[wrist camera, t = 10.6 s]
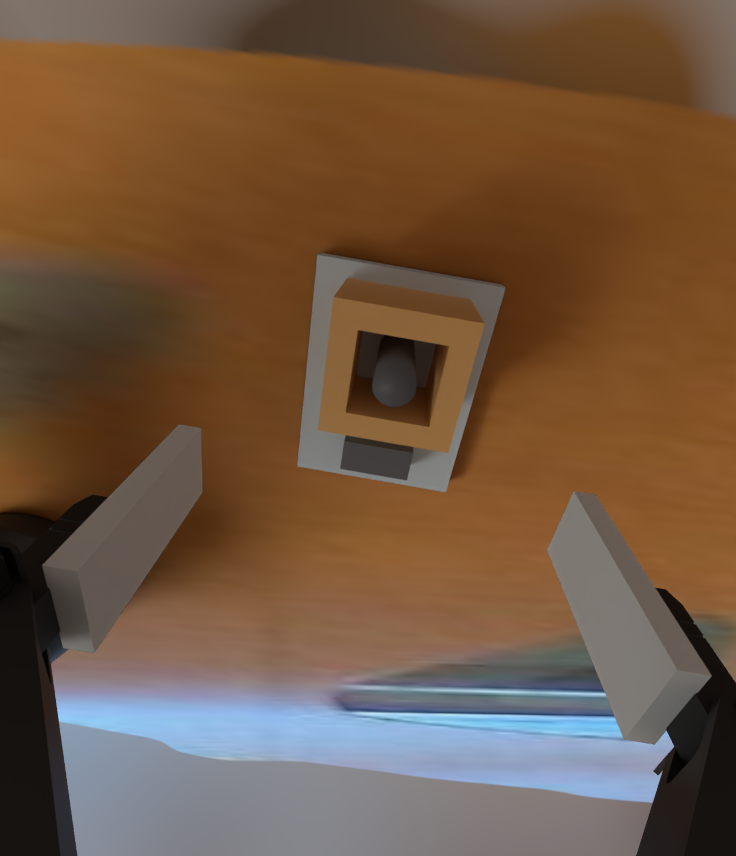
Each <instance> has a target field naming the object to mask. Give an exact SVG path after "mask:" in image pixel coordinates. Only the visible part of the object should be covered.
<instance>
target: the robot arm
mask: <svg viewBox="0 0 736 856" xmlns="http://www.w3.org/2000/svg"><path fill="white" fill-rule="evenodd" d="M202 492H203V490H202V447H201V428H198V427H192V426H186V425H180V424H179V425H178V426H177V427H176V428H175V429H174V430H173V431H172V432H171V433H170V434H169V435H168V436H167V437H166V438H165V439H164V440H163V441H162V442H161V443H160V444H159V445H158V447H157V448H156V449H155V450H154V451H153V452H152V453H151V454H150V455H149V456H148V457H147V458H146V459H145V460H144V461H143V462H142V463H141V464H140V465H139V466H138V467H137V468H136V469H135V470H134V471H133V472H132V473H131V474H130V475H129V476H128V477H127V478H126V479H125V480H124V481H123V483H122V484H121V485H120V486H119V487H118V488H117V489H116V490H115V491H114V492H113V493H112V494H111V495H110V496H109V497H103V496H97V495H91V496H89V497H87V498H85V499H83V500H81V501H80V502H78V503H76V504H74V505H73V506H72V507H70V508H69V509H68V510H67V511H66V512H65V513H64V514H63V515H62V516H61V517H60V520H57V521H56V522H55V523H54V522H51V521H48V520H46V519H43V518H39V517H35V516H31V515H25V514H16V513H6V514H0V856H77V850H76V843H75V837H74V828H73V821H72V815H71V807H70V800H69V792H68V785H67V778H66V771H65V763H64V756H63V749H62V742H61V734H60V728H59V720H58V713H57V705H56V698H55V691H54V684H53V676H52V669H51V663H52V662H53V661H54V660H56V659H57V658H58V657H60V656H61V655H62V654H63V653H65V652H66V651H67V650H68V649H72V650H78V651H84V652H90V653H95V652H96V650H97V649H98V647H99V646H100V644H101V643H102V641H103V640H104V638H105V637H106V635H107V634H108V632H109V631H110V629H111V628H112V626H113V625H114V623H115V622H116V620H117V619H118V617H119V616H120V615H121V613H122V612H123V610H124V609H125V607H126V606H127V604H128V603H129V601H130V600H131V598H132V597H133V595H134V594H135V592H136V591H137V589H138V588H139V586H140V585H141V583H142V582H143V580H144V579H145V577H146V576H147V574H148V573H149V571H150V570H151V568H152V567H153V565H154V564H155V562H156V561H157V559H158V558H159V556H160V555H161V553H162V552H163V550H164V549H165V547H166V546H167V545H168V543H169V542H170V540H171V539H172V537H173V536H174V534H175V533H176V531H177V530H178V528H179V527H180V525H181V524H182V522H183V521H184V519H185V518H186V516H187V515H188V513H189V512H190V510H191V509H192V507H193V506H194V504H195V503H196V501H197V500H198V498H199V497H200V495H201V494H202ZM547 551H548V554H549V556H550V559H551V561H552V564H553V566H554V568H555V571H556V573H557V576H558V578H559V581H560V583H561V586H562V588H563V591H564V593H565V595H566V598H567V600H568V603H569V605H570V608H571V610H572V613H573V615H574V618H575V620H576V622H577V625H578V627H579V630H580V632H581V635H582V637H583V640H584V642H585V645H586V647H587V650H588V652H589V654H590V657H591V659H592V662H593V664H594V667H595V669H596V672H597V674H598V677H599V679H600V681H601V684H602V686H603V689H604V691H605V694H606V696H607V699H608V701H609V704H610V706H611V709H612V711H613V713H614V716H615V718H616V721H617V723H618V726H619V728H620V731H621V733H622V736H623V738H624V740H630V741H636V742H642V743H648V744H654V745H655V743H656V742H657V741H658V740H659V739H660V737H661V736H662V735H663V734H664V733H665V731H666V730H667V732H668V734H669V736H670V738H671V740H672V743H673V745H674V748H673V749H672V750H671V751H670V752H669V753H668V755H667V756H666V757H665V758H664V759H663V760H662V761H661V763H660V764H659V765H658V766H657V767H656V769H655V770H654V772H655V773H656V774H657V775H659V774H660V773H661V772H662V771H663V772H662V775H661V778H660V781H659V785H658V788H657V791H656V794H655V797H654V801H653V804H652V807H651V810H650V813H649V817H648V820H647V823H646V827H645V829H644V833H643V836H642V839H641V842H640V846H639V849H638V852H637V855H636V856H736V683H735V681H734V680H733V678H732V677H731V675H730V674H729V672H728V671H727V670H726V668H725V667H724V665H723V664H722V662H721V661H720V659H719V658H718V656H717V655H716V653H715V652H714V650H713V649H712V648H711V646H710V645H709V643H708V642H707V640H706V639H705V638H703V634H702V633H701V631H700V630H699V628H698V627H697V626H696V625H694V623H693V622H694V621H693V620H692V618H691V617H690V615H689V614H688V612H687V611H686V609H685V608H684V607H683V605H682V604H681V603H680V602H679V601H678V600H677V599H675V598H674V597H673V596H672V595H671V594H670V593H669V592H668V591H667V590H666V589H660V588H655V587H654V585H653V584H652V582H651V580H650V579H649V577H648V576H647V574H646V573H645V571H644V570H643V568H642V566H641V565H640V563H639V562H638V560H637V559H636V557H635V556H634V554H633V552H632V551H631V549H630V548H629V546H628V545H627V543H626V542H625V540H624V538H623V537H622V535H621V534H620V532H619V531H618V529H617V528H616V526H615V524H614V523H613V521H612V520H611V518H610V517H609V515H608V514H607V512H606V510H605V509H604V507H603V506H602V504H601V503H600V501H599V500H598V498H597V496H596V495H594V494H588V493H582V492H576V491H574V492H573V494H572V496H571V499H570V501H569V503H568V505H567V507H566V510H565V512H564V514H563V516H562V518H561V521H560V523H559V525H558V527H557V529H556V531H555V534H554V536H553V538H552V540H551V542H550V545H549V547H548V549H547Z"/></svg>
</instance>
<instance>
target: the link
mask: <svg viewBox="0 0 736 856" xmlns="http://www.w3.org/2000/svg"><path fill="white" fill-rule="evenodd" d="M484 325H485V323H484V321H483V320H482V318H481V316H480V314H479V313H478V311H477V309H476V308H475V306H474V304H473V303H472V301H471V299H466V298H460V297H454V296H449V295H443V294H437V293H432V292H426V291H420V290H415V289H409V288H403V287H398V286H392V285H386V284H380V283H375V282H369V281H363V280H358V279H352V278H347V279H346V280H345V281H344V283H343V284H342V286H341V287H340V288H339V290H338V291H337V293H336V294H335V295H334V297H333V305H332V313H331V322H330V330H329V339H328V348H327V356H326V365H325V373H324V382H323V391H322V399H321V408H320V416H319V425H318V430H319V431H325V432H330V433H336V434H342V435H347V436H353V437H359V438H365V439H370V440H376V441H382V442H387V443H393V444H399V445H405V446H410V447H416V448H422V449H428V450H433V451H439V452H445V453H448V452H449V449H450V445H451V442H452V438H453V435H454V431H455V428H456V424H457V421H458V417H459V414H460V410H461V406H462V403H463V399H464V396H465V392H466V389H467V385H468V382H469V378H470V375H471V371H472V367H473V364H474V360H475V357H476V353H477V350H478V346H479V343H480V339H481V336H482V332H483V328H484ZM363 331H366V332H372V333H378V334H383V335H389V336H395V337H400V338H406V339H412V340H418V341H423V342H429V343H435V344H436V346H435V350H434V355H433V359H432V363H431V367H430V372H429V376H428V380H427V385H426V388H423V387H417V386H416V393H415V395H414V397H413V398H412V399H411V400H410V401H409V402H408V403H407V404H405V405H402V406H399V407H390V406H387V405H384V404H382V403H381V402H380V401H378V400H377V398H376V397H375V395H374V393H373V390H372V383H373V379H371V378H366V377H360V376H356V372H357V366H358V359H359V353H360V346H361V340H362V333H363Z"/></svg>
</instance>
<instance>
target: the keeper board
mask: <svg viewBox="0 0 736 856" xmlns="http://www.w3.org/2000/svg"><path fill="white" fill-rule="evenodd" d="M347 278H352V279H358V280H363V281H369V282H375V283H380V284H386V285H392V286H398V287H403V288H409V289H415V290H420V291H426V292H432V293H437V294H443V295H449V296H454V297H460V298H466V299H471V301H472V303H473V304H474V306H475V308H476V309H477V311H478V313H479V314H480V316H481V318H482V320H483V321H484V323H485V325H484V328H483V332H482V336H481V339H480V343H479V346H478V350H477V353H476V357H475V360H474V364H473V367H472V371H471V375H470V378H469V382H468V385H467V389H466V392H465V396H464V399H463V403H462V406H461V410H460V414H459V417H458V421H457V424H456V428H455V431H454V435H453V438H452V442H451V445H450V449H449V452H448V453H445V452H439V451H433V450H428V449H422V448H416V447H410V446H405V445H399V444H393V443H387V442H382V441H376V440H370V439H365V438H359V437H353V436H347V435H342V434H336V433H330V432H325V431H319V430H318V425H319V416H320V408H321V399H322V391H323V382H324V373H325V365H326V356H327V348H328V339H329V330H330V322H331V313H332V305H333V297H334V295H335V294H336V293H337V291H338V290H339V288H340V287H341V286H342V284H343V283H344V281H345V280H346V279H347ZM505 289H506V288H505V287H504V286H503V285H502V284H497V283H491V282H485V281H480V280H474V279H468V278H463V277H457V276H451V275H446V274H440V273H434V272H428V271H423V270H417V269H411V268H406V267H400V266H394V265H389V264H383V263H377V262H372V261H366V260H360V259H355V258H349V257H343V256H337V255H332V254H326V253H319V254H318V255H317V264H316V275H315V285H314V296H313V306H312V317H311V327H310V338H309V348H308V359H307V369H306V380H305V390H304V401H303V411H302V422H301V432H300V443H299V453H298V464H297V466H298V467H304V468H310V469H315V470H321V471H327V472H333V473H338V474H344V475H350V476H356V477H361V478H367V479H373V480H379V481H384V482H390V483H396V484H401V485H407V486H413V487H419V488H424V489H430V490H436V491H442V492H446V490H447V487H448V483H449V480H450V476H451V473H452V470H453V466H454V463H455V459H456V456H457V452H458V449H459V446H460V442H461V439H462V435H463V432H464V429H465V425H466V422H467V418H468V415H469V412H470V408H471V405H472V401H473V398H474V395H475V391H476V388H477V384H478V381H479V377H480V374H481V371H482V367H483V364H484V360H485V357H486V354H487V350H488V347H489V343H490V340H491V337H492V333H493V330H494V326H495V323H496V320H497V316H498V313H499V309H500V306H501V303H502V299H503V296H504V292H505ZM435 346H436V344H435V343H429V342H423V341H418V340H412V339H406V338H400V337H395V336H389V335H383V334H378V333H372V332H366V331H363V333H362V340H361V346H360V353H359V359H358V366H357V372H356V376H360V377H366V378H371V379H373V383H372V390H373V393H374V395H375V397H376V398H377V400H378V401H380V402H381V403H382V404H384V405H387V406H390V407H399V406H402V405H405V404H407V403H408V402H409V401H410V400H411V399H412V398H413V397H414V395H415V393H416V386H417V387H423V388H426V385H427V380H428V376H429V372H430V367H431V363H432V359H433V355H434V350H435Z"/></svg>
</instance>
